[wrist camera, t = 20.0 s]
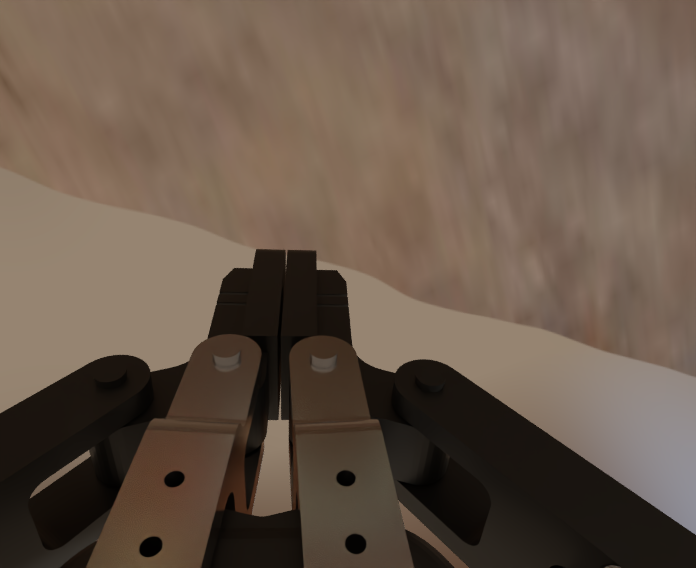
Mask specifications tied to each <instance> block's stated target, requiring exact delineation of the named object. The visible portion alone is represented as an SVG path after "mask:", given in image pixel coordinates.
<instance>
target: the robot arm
mask: <svg viewBox="0 0 696 568" xmlns="http://www.w3.org/2000/svg"><path fill="white" fill-rule="evenodd" d="M280 389H281V419H282V420H289V465H290V486H291V507H292V510H291V511H287V512H283V513H278V514H274V515H270V516H265V517H259V516H254V515H252V512H253V506H254V501H255V496H256V491H257V485H258V480H259V475H260V470H261V464H262V459H263V454H264V439H265V437H266V433H267V425H268V420H278V417H279V402H280ZM88 450H89V451H90V455H91V457H89V458H88V459H87V460H85V461H84V462H82V463H81V464H79V465H78V466H76V467H75V468H73V469H72V470H71V471H69V472H68V473H66V474H65V475H64V476H62V477H61V478H59V479H58V480H56V481H55V482H53V483H52V484H51V485H49V486H48V487H46V488H45V489H43V490H42V491H40V493H38V494H36V495H35V496H33V497H32V498H30V496H31V494H32V493H33V491H34V490H35V488H36V487H37V486H38V485H39V484H40V483H41V482H43V481H44V480H45V479H47V478H48V477H50V476H51V475H53V474H54V473H56V472H57V471H59V470H60V469H61V468H63V467H64V466H66V465H67V464H69V463H70V462H72V461H73V460H75V459H76V458H77V457H79V456H80V455H82V454H83V453H85V452H86V451H88ZM398 500H399V501H400V502H401V503H402V504H403V505H404V506H405V507H406V508H407V509H408V510H409V511H410V512H411V513H412V514H414V515H415V516H416V517H417V518H418V519H419V520H420V521H421V522H422V523H423V524H424V525H425V526H426V527H427V528H428V529H429V530H430V531H432V533H434V534H435V535H436V536H437V537H438V538H439V539H440V540H441V541H442V542H443V543H444V544H445V545H446V546H447V547H448V548H449V549H451V551H452V552H453V553H455V554H456V555H457V556H458V557H459V558H460V559H461V560H462V561H463V562H464V563H465V564H466V565H467V566H468V567H469V568H696V535H695V534H693V533H692V532H691V531H689V530H687V529H686V528H685V527H683V526H682V525H680V524H679V523H677V522H676V521H674V520H673V519H671V518H670V517H669V516H667V515H666V514H664V513H663V512H661V511H660V510H658V509H657V508H655V507H654V506H652V505H651V504H650V503H648V502H647V501H645V500H644V499H642V498H641V497H639V496H638V495H637V494H635V493H634V492H632V491H630V490H629V489H628V488H626V487H624V486H623V485H622V484H620V483H619V482H618V481H616V480H615V479H613V478H612V477H610V476H609V475H607V474H606V473H604V472H603V471H602V470H600V469H599V468H597V467H596V466H594V465H593V464H591V463H590V462H588V461H587V460H585V459H584V458H583V457H581V456H579V455H578V454H577V453H575V452H574V451H572V450H571V449H569V448H568V447H566V446H565V445H564V444H562V443H561V442H559V441H557V440H556V439H554V438H553V437H552V436H550V435H549V434H548V433H546V432H545V431H543V430H542V429H540V428H539V427H537V426H536V425H534V424H533V423H531V422H530V421H528V420H527V419H526V418H524V417H523V416H521V415H520V414H518V413H517V412H515V411H514V410H513V409H511V408H509V407H508V406H507V405H505V404H504V403H502V402H501V401H499V400H498V399H496V398H495V397H494V396H492V395H491V394H489V393H488V392H486V391H485V390H483V389H482V388H480V387H479V386H477V385H476V384H475V383H473V382H472V381H470V380H469V379H467V378H466V377H464V376H463V375H461V374H460V373H459V372H457V371H456V370H454V369H453V368H451V367H449V366H448V365H446V364H443V363H441V362H437V361H433V360H413V361H410V362H407V363H405V364H403V365H402V366H400V367H399V369H398V370H397V371H396V373H393V372H389V371H385V370H381V369H378V368H375V367H372V366H370V365H368V364H367V363H365V362H364V361H362V360H361V359H360V358H359V357H358V356H357V355H356V352H355V350H354V348H353V347H352V339H351V329H350V318H349V307H348V297H347V286H346V281H345V280H344V279H343V278H342V276H341V275H340V274H339V273H338V271H337V270H336V271H335V270H317V269H316V251H311V250H288V252H287V265H286V252H285V250H270V249H256V253H255V258H254V264H253V269H252V268H251V269H250V268H234V269H233V270H232V271H231V272H230V273H229V274H228V275H227V276H226V277H225V278H224V279H223V281H222V285H221V289H220V294H219V296H218V300H217V305H216V308H215V312H214V316H213V319H212V323H211V327H210V331H209V335H208V339H207V340H205V341H203V342H201V343H200V344H199V345H198V346H197V347H196V348H195V349H194V351H193V353H192V355H191V357H190V360H189V361H188V362H186V363H184V364H182V365H179V366H176V367H172V368H168V369H163V370H158V371H153V372H150V369H149V366H148V365H147V364H146V363H145V362H144V361H143V360H141V359H139V358H137V357H134V356H129V355H113V356H107V357H104V358H100V359H97V360H95V361H93V362H91V363H89V364H87V365H85V366H84V367H82V368H80V369H78V370H77V371H75V372H73V373H71V374H69V375H68V376H66V377H64V378H62V379H60V380H59V381H57V382H55V383H53V384H52V385H50V386H48V387H47V388H44V389H43V390H41V391H39V392H37V393H36V394H34V395H32V396H31V397H29V398H27V399H25V400H23V401H21V402H20V403H18V404H16V405H14V406H13V407H11V408H9V409H7V410H5V411H4V412H2V413H0V568H454V567H453V566H452V565H451V564H450V563H449V561H447V560H446V558H445V557H444V556H443V555H442V554H441V553H439V552H438V551H437V550H436V549H435V548H434V547H432V546H431V545H430V544H429V543H428V542H426V541H425V540H423V539H422V538H420V537H419V536H417V535H415V534H414V533H411V532H410V531H407V530H405V527H404V523H403V519H402V515H401V510H400V506H399V502H398ZM96 540H97V541H96Z"/></svg>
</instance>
